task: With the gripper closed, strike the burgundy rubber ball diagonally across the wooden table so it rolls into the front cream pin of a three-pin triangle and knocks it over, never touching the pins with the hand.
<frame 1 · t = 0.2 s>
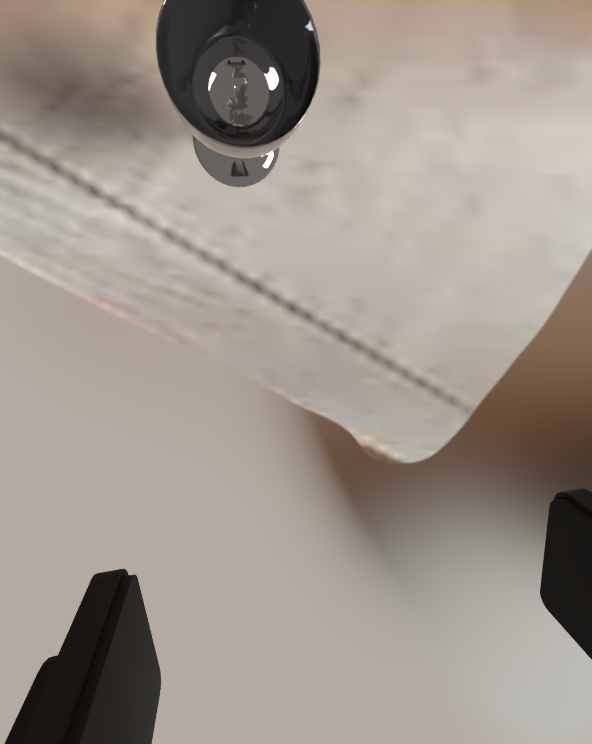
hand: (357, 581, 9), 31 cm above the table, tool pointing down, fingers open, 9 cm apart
wine glass: (237, 141, 34), on the table
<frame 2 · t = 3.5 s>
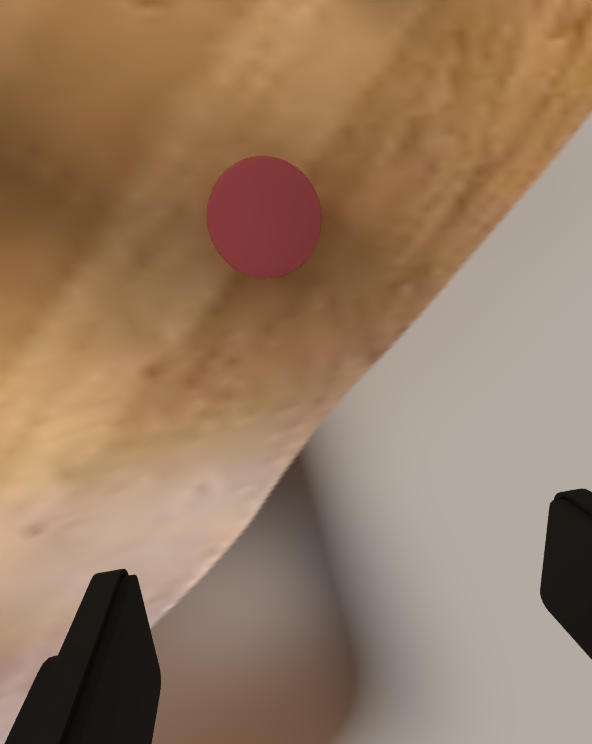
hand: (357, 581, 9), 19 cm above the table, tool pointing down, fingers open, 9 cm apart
ball: (264, 220, 21), on the table
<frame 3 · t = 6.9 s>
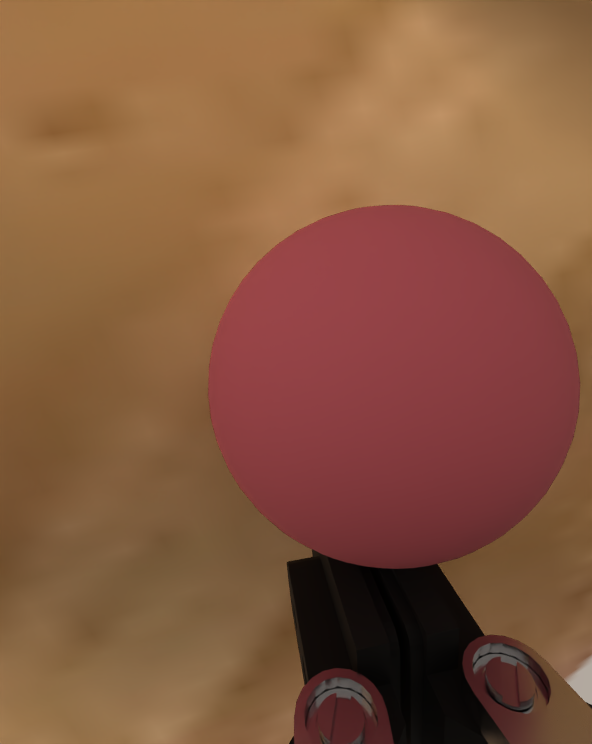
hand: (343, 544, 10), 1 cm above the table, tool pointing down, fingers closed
ball: (377, 384, 7), on the table
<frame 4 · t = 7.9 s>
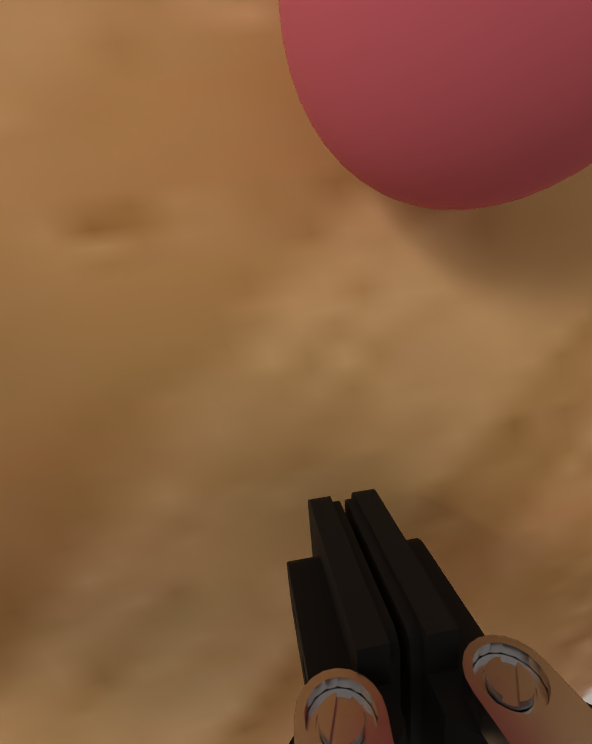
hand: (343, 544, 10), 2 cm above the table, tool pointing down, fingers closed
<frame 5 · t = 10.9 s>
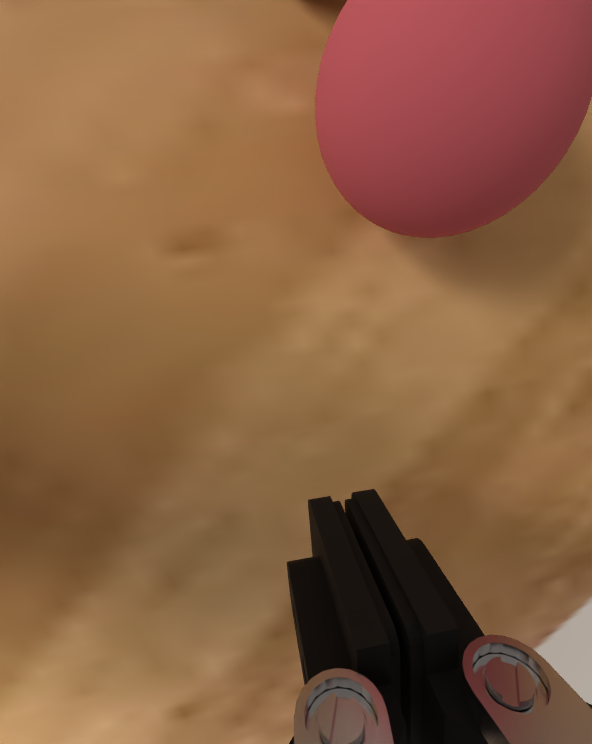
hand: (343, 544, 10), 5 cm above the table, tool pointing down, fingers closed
ball: (441, 104, 10), on the table
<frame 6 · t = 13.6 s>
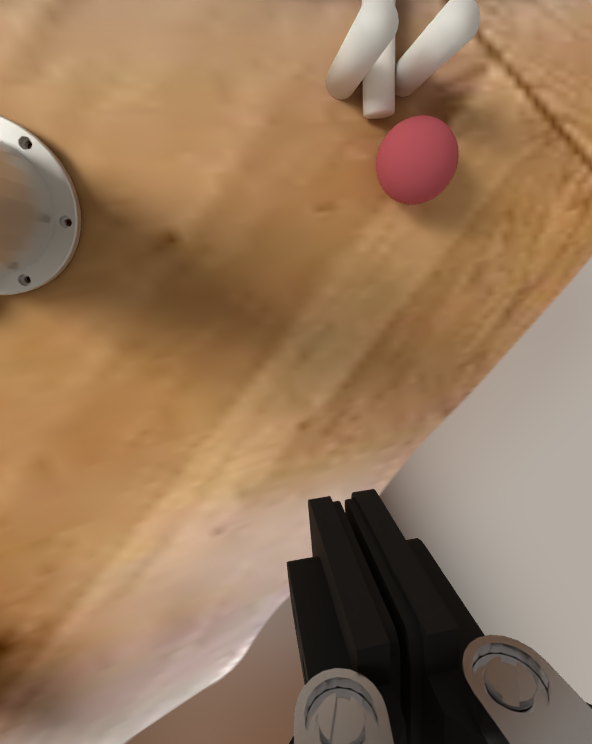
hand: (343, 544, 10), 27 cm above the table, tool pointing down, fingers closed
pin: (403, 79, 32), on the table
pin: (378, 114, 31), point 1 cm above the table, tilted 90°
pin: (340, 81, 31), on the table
ball: (416, 161, 31), on the table
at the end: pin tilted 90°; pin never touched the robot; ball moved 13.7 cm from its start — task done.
